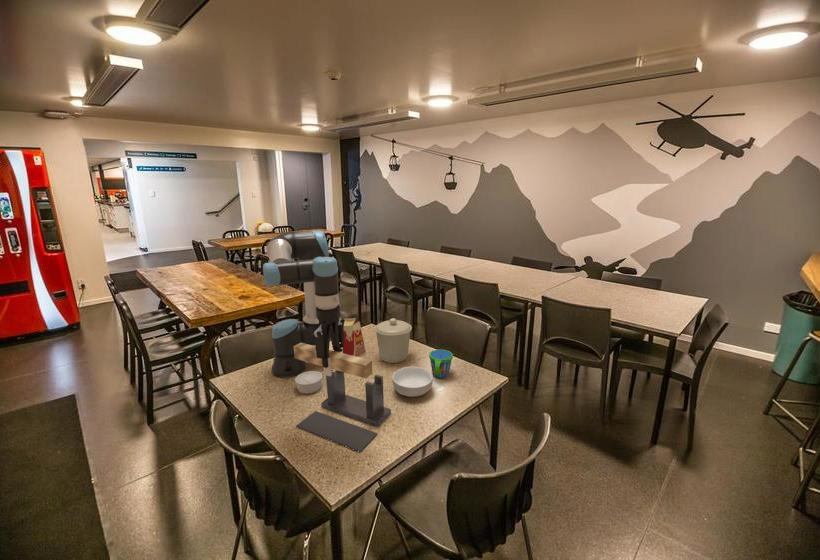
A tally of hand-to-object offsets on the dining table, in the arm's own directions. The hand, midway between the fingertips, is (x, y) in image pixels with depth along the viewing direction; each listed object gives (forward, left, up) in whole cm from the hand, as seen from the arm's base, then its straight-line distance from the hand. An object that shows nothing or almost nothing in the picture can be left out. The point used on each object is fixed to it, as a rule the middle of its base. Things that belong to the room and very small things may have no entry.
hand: (332, 372), depth 123 cm
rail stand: (-1, +13, -23) cm, 26 cm away
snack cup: (+17, +53, -23) cm, 60 cm away
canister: (-10, +57, -23) cm, 62 cm away
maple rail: (0, 0, +2) cm, 2 cm away
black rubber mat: (0, 0, -23) cm, 23 cm away
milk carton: (-31, +52, -23) cm, 65 cm away
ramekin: (-28, +17, -23) cm, 40 cm away
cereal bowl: (+12, +35, -23) cm, 44 cm away
